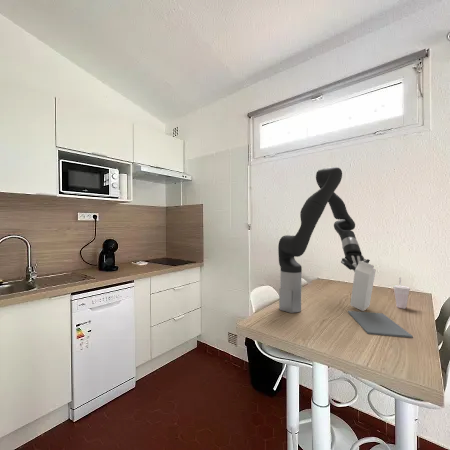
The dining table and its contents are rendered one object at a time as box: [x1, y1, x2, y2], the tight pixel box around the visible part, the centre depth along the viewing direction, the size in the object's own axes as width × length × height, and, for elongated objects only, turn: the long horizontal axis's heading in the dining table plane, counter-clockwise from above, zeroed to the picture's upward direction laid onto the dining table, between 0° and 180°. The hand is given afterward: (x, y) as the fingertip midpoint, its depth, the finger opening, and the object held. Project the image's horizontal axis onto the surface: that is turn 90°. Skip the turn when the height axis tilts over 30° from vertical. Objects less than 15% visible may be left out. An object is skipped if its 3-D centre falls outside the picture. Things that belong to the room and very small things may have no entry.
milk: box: [350, 261, 376, 312], centre depth 107 cm, size 6×6×22 cm
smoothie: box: [392, 276, 411, 310], centre depth 113 cm, size 6×6×14 cm
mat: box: [347, 310, 414, 339], centre depth 93 cm, size 22×14×1 cm, turn 169°
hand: (359, 276), depth 110 cm, fingers closed
